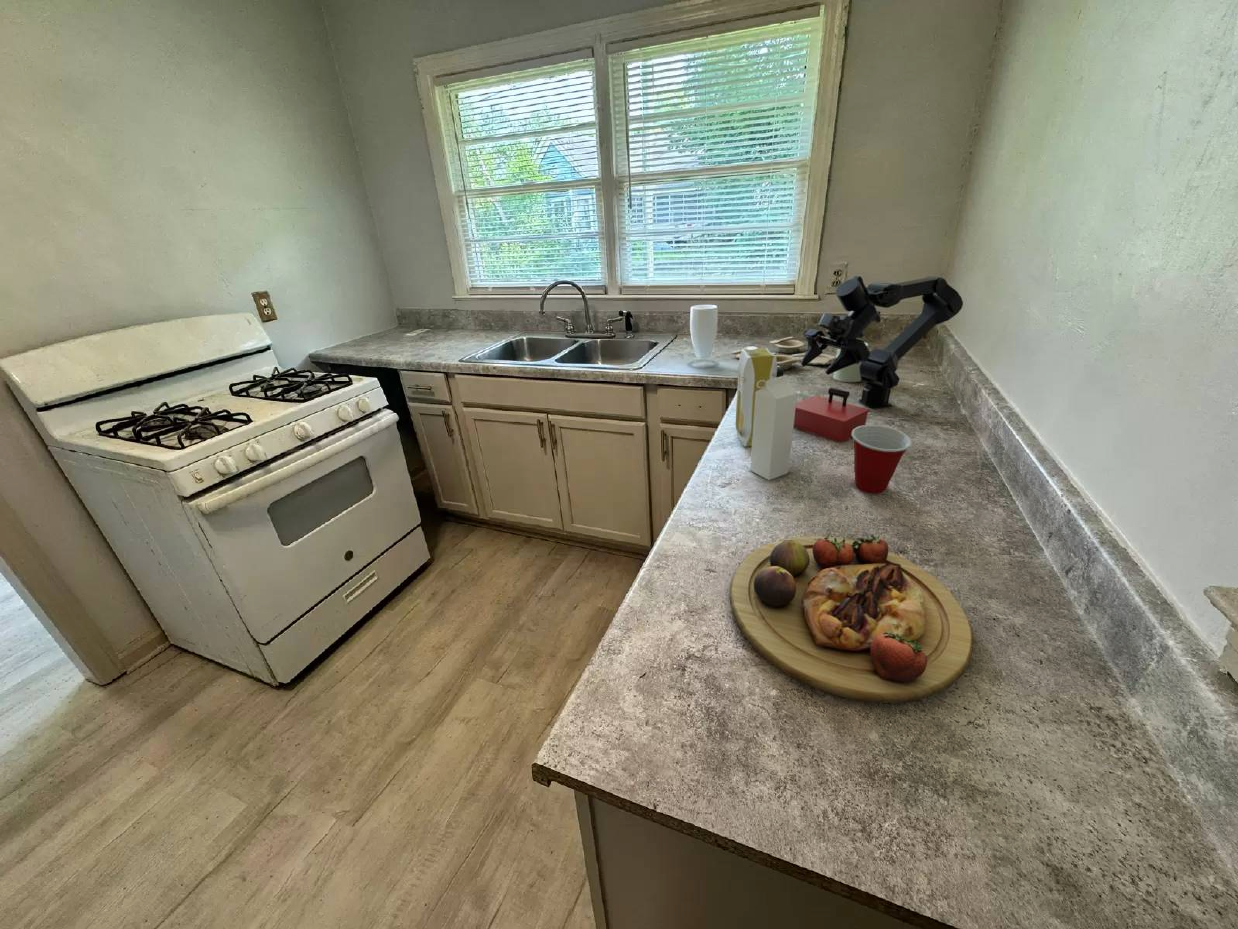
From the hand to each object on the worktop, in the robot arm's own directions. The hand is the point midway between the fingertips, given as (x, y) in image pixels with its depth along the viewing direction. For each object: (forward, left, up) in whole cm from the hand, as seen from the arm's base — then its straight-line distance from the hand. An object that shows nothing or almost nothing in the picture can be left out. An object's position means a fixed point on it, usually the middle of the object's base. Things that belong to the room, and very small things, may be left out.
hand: (814, 369), depth 130 cm
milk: (+23, +25, -14) cm, 37 cm away
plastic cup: (+5, +37, -15) cm, 41 cm away
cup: (+11, -63, -14) cm, 65 cm away
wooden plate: (+31, +68, -14) cm, 76 cm away
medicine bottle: (+5, -13, -15) cm, 20 cm away
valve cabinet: (-2, +6, -14) cm, 16 cm away
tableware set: (-20, -59, -14) cm, 64 cm away
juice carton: (+20, +8, -14) cm, 26 cm away
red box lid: (-2, +6, -10) cm, 12 cm away
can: (-30, -30, -14) cm, 44 cm away
